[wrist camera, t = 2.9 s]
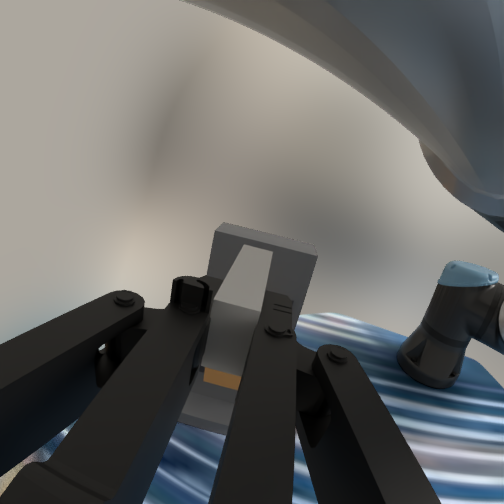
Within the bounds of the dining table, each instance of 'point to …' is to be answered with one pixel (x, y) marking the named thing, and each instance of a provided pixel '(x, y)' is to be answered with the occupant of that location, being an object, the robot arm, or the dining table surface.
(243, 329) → the robot arm
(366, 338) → the dining table surface
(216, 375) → the rocker
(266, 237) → the switch stand
